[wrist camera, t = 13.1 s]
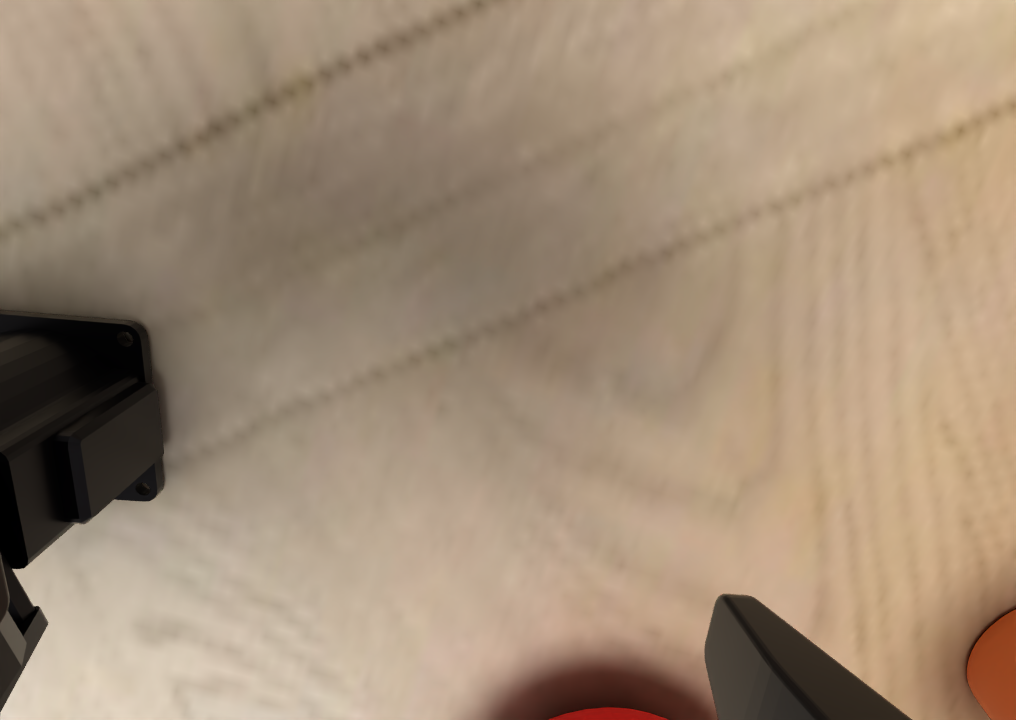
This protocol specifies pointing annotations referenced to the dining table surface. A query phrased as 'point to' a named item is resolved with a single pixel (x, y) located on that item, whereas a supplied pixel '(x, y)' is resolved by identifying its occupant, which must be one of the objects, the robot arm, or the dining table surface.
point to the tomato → (608, 714)
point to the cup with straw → (995, 669)
